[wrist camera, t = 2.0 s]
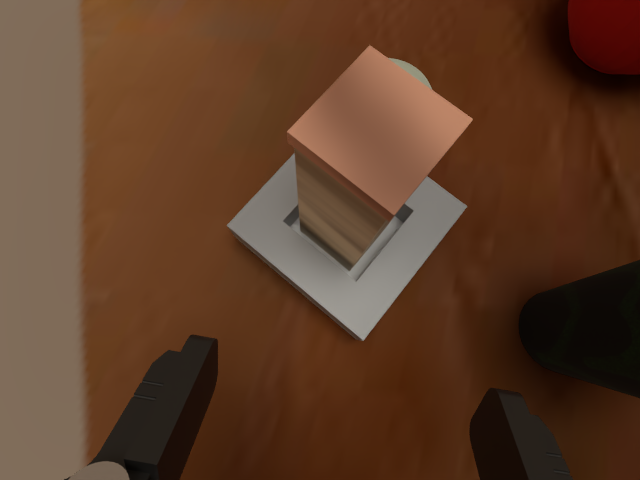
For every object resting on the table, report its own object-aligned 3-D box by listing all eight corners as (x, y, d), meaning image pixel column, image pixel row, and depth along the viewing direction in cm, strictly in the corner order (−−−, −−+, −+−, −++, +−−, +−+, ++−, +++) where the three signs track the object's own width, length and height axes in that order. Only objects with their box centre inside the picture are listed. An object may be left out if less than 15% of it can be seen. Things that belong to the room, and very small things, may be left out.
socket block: (333, 133, 29) (336, 107, 26) (448, 221, 28) (467, 206, 25) (236, 238, 27) (226, 225, 24) (356, 339, 26) (363, 340, 23)
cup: (514, 262, 28) (665, 212, 16) (618, 293, 27) (850, 265, 16) (494, 369, 26) (649, 401, 14) (606, 403, 25) (858, 465, 14)
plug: (339, 183, 28) (369, 45, 14) (391, 223, 27) (473, 119, 14) (297, 231, 27) (287, 131, 14) (350, 274, 26) (394, 215, 13)
